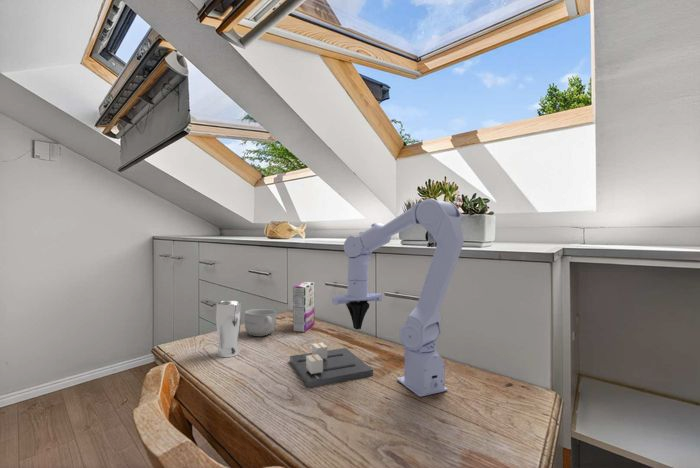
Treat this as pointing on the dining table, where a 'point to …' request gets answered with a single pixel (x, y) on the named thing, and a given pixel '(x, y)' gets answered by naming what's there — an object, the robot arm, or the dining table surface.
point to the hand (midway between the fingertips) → (357, 328)
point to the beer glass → (228, 327)
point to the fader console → (332, 368)
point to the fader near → (314, 363)
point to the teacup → (260, 321)
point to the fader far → (319, 349)
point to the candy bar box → (303, 306)
